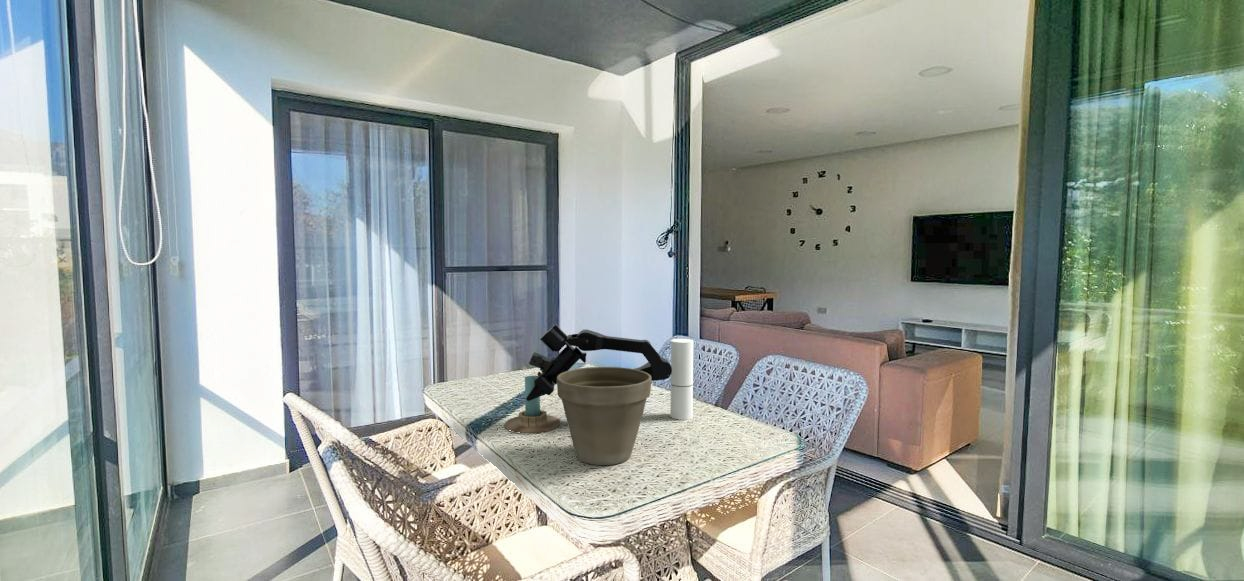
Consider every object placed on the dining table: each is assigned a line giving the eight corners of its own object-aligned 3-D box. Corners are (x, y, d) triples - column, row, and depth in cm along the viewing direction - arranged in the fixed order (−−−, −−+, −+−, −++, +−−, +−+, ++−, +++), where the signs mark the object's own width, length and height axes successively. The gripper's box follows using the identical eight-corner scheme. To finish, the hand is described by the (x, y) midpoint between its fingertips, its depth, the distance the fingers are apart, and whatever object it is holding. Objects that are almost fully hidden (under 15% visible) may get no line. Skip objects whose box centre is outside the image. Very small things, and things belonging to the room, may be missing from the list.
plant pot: (600, 432, 168) (600, 361, 166) (669, 452, 152) (669, 373, 150) (537, 457, 149) (536, 376, 147) (608, 483, 133) (608, 392, 131)
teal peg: (540, 416, 178) (540, 375, 176) (539, 420, 173) (538, 378, 172) (526, 416, 177) (525, 375, 176) (524, 420, 173) (523, 379, 172)
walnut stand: (570, 420, 180) (570, 409, 180) (542, 436, 164) (542, 425, 164) (524, 413, 187) (524, 403, 186) (493, 429, 171) (493, 418, 171)
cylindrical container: (692, 413, 187) (693, 338, 185) (692, 420, 180) (693, 342, 177) (670, 412, 187) (671, 338, 185) (670, 419, 180) (670, 342, 178)
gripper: (547, 338, 183) (513, 372, 183) (541, 349, 164) (503, 387, 165) (572, 362, 184) (538, 396, 184) (568, 376, 165) (531, 413, 166)
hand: (528, 397), depth 175 cm, fingers closed on teal peg, 4 cm apart
